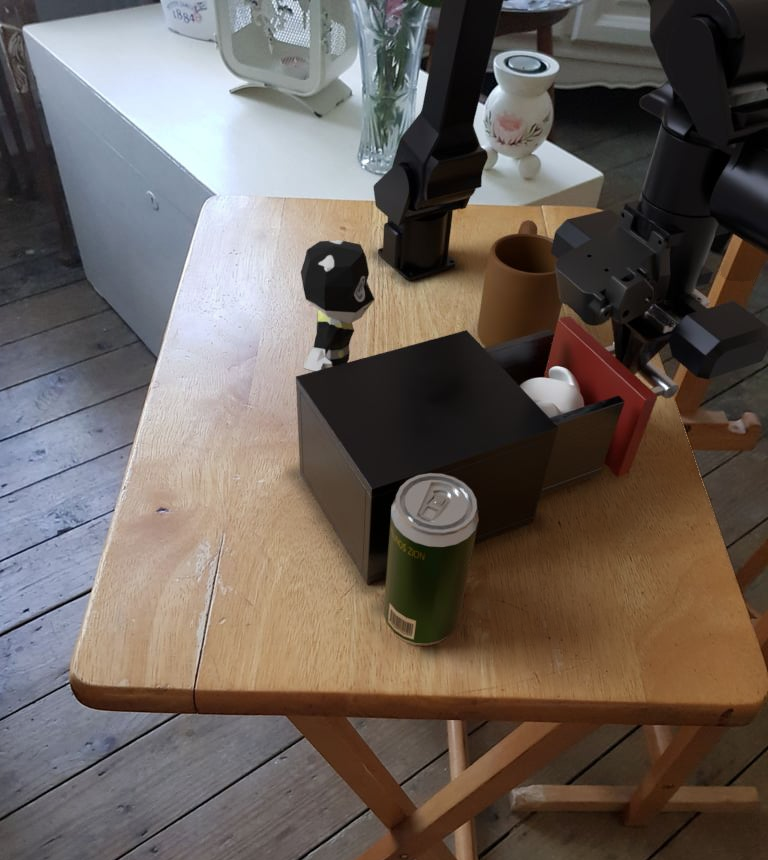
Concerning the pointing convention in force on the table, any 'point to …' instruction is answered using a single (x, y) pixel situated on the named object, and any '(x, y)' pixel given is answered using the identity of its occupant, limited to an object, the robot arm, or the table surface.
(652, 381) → the drawer
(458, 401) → the cabinet
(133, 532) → the table surface
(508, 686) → the table surface
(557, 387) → the elephant figurine
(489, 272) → the mug
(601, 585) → the table surface
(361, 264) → the toy
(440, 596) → the beer can
